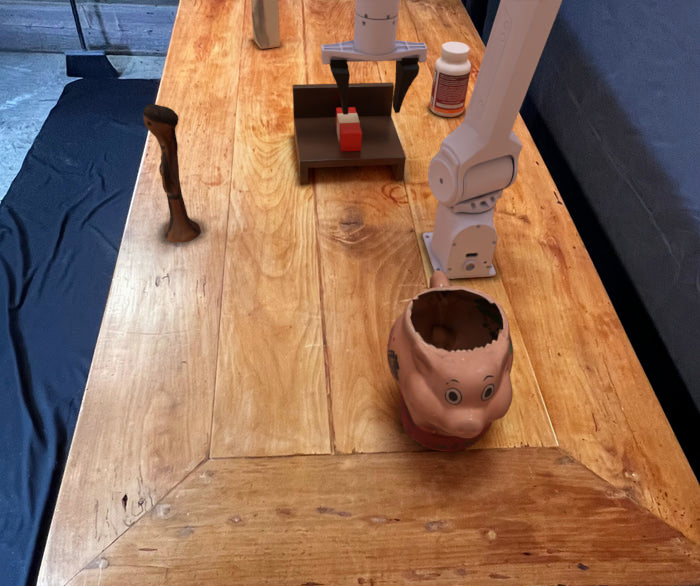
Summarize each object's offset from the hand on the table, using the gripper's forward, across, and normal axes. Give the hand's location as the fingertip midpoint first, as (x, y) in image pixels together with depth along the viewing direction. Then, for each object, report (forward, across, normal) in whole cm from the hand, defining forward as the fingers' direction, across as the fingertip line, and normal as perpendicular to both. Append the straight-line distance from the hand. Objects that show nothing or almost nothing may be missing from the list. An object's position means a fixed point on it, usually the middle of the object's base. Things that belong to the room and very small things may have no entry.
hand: (370, 110), depth 93 cm
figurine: (+10, +28, +14) cm, 33 cm away
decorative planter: (+10, 0, +48) cm, 48 cm away
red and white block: (+5, +3, -2) cm, 6 cm away
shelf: (+9, +3, -3) cm, 10 cm away
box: (+9, +14, -48) cm, 51 cm away
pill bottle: (+9, -17, -18) cm, 26 cm away
